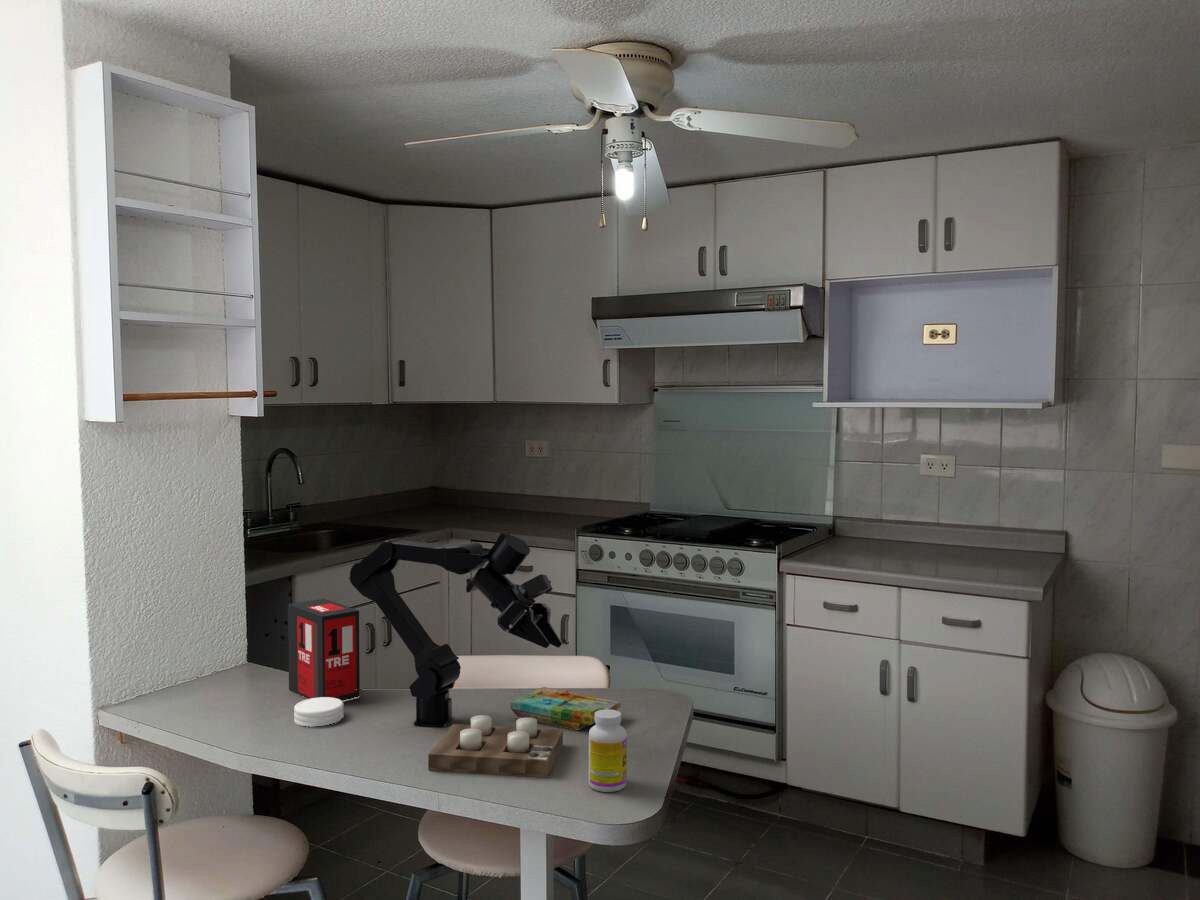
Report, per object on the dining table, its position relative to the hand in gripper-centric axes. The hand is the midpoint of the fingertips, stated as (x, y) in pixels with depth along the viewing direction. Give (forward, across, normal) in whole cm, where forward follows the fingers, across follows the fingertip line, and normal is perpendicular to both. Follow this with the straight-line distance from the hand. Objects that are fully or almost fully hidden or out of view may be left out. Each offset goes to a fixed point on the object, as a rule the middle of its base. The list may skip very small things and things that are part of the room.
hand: (554, 646), depth 185 cm
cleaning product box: (-36, +21, +49) cm, 64 cm away
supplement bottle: (+26, -12, +8) cm, 30 cm away
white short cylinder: (-27, +6, +48) cm, 55 cm away
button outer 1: (+3, -8, +23) cm, 24 cm away
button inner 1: (+1, -1, +22) cm, 22 cm away
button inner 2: (+8, 0, +16) cm, 18 cm away
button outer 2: (+9, -7, +17) cm, 21 cm away
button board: (+7, -5, +21) cm, 23 cm away
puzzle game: (+9, +18, +13) cm, 24 cm away
